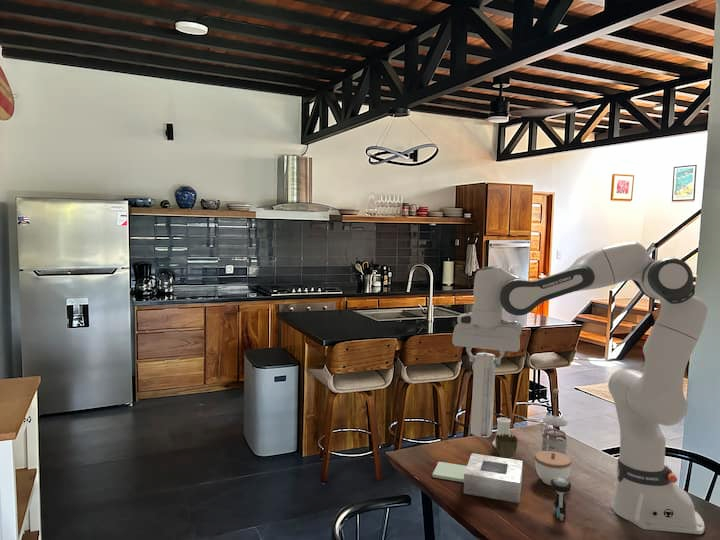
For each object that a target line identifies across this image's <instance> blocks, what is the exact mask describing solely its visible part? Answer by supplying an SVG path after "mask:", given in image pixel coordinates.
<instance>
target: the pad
mask: <svg viewBox="0 0 720 540" xmlns="http://www.w3.org/2000/svg"><path fill="white" fill-rule="evenodd" d="M466 467H467V465H463V464H457V463H449V462H445V461H438V462H437V465H436V467H435V468H434V470H433V472H432V475H431V477H432V478H434V479H435V478H436V479H441V480H447V481H453V482H459V483H464V473H465V470H466Z"/></svg>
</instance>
